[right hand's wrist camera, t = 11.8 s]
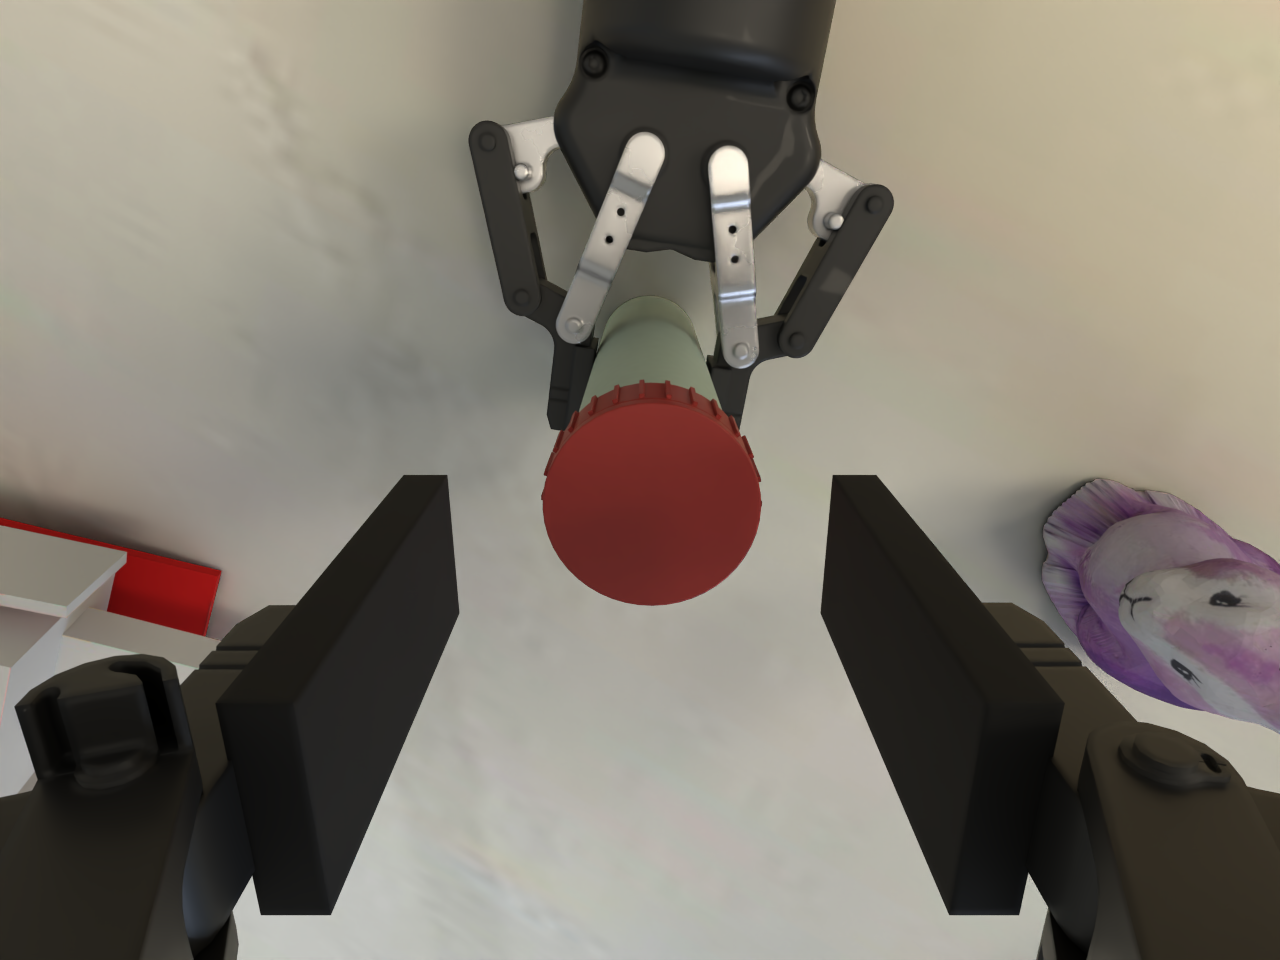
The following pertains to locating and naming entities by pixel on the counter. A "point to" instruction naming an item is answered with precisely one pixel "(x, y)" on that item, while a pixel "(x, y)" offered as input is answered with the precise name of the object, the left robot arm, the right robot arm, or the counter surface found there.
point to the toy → (87, 618)
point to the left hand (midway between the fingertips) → (639, 449)
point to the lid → (651, 494)
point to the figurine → (1167, 600)
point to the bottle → (649, 350)
